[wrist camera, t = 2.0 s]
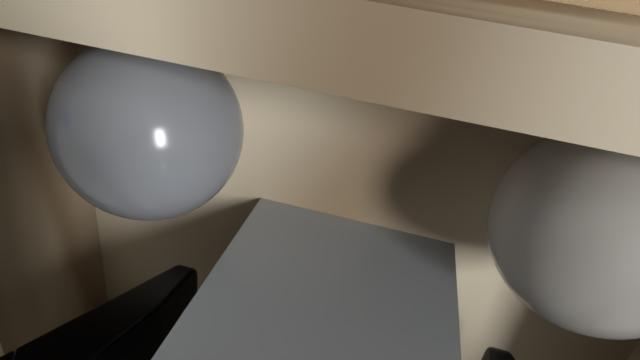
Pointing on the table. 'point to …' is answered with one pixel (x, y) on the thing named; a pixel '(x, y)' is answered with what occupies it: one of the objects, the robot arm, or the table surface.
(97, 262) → the crate
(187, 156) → the grey ball
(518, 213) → the grey ball
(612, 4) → the table surface
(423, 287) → the stone block
